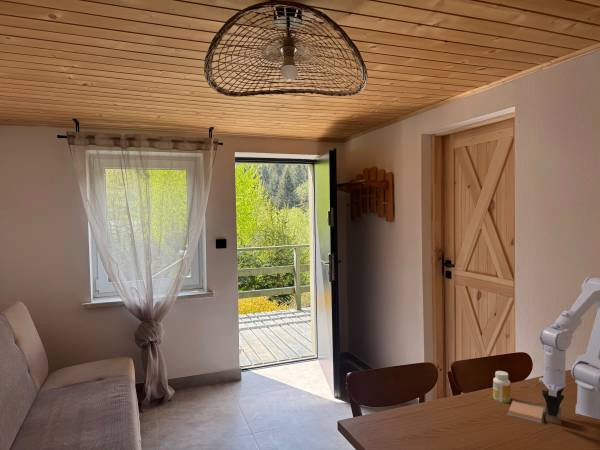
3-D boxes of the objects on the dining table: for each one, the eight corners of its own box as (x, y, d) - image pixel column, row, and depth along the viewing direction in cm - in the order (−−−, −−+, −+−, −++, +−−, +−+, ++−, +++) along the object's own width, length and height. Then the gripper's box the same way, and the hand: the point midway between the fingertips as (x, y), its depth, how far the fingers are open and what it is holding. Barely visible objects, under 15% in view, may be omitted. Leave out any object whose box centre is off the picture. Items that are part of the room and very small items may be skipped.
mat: (546, 408, 135) (546, 407, 135) (543, 426, 125) (543, 424, 125) (512, 401, 141) (512, 399, 141) (506, 416, 130) (506, 415, 130)
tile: (543, 407, 132) (541, 418, 125) (543, 412, 132) (541, 422, 125) (512, 400, 137) (509, 410, 131) (512, 404, 137) (508, 414, 131)
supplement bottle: (510, 399, 142) (511, 371, 142) (509, 405, 138) (509, 377, 138) (494, 395, 145) (494, 368, 145) (491, 401, 141) (492, 374, 140)
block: (561, 421, 127) (561, 402, 127) (560, 427, 124) (561, 407, 124) (546, 417, 130) (546, 399, 130) (545, 423, 126) (545, 404, 126)
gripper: (541, 357, 135) (540, 398, 135) (537, 371, 123) (536, 416, 123) (567, 362, 130) (566, 403, 131) (565, 377, 119) (564, 423, 119)
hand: (553, 410), depth 127 cm, fingers open, 7 cm apart
